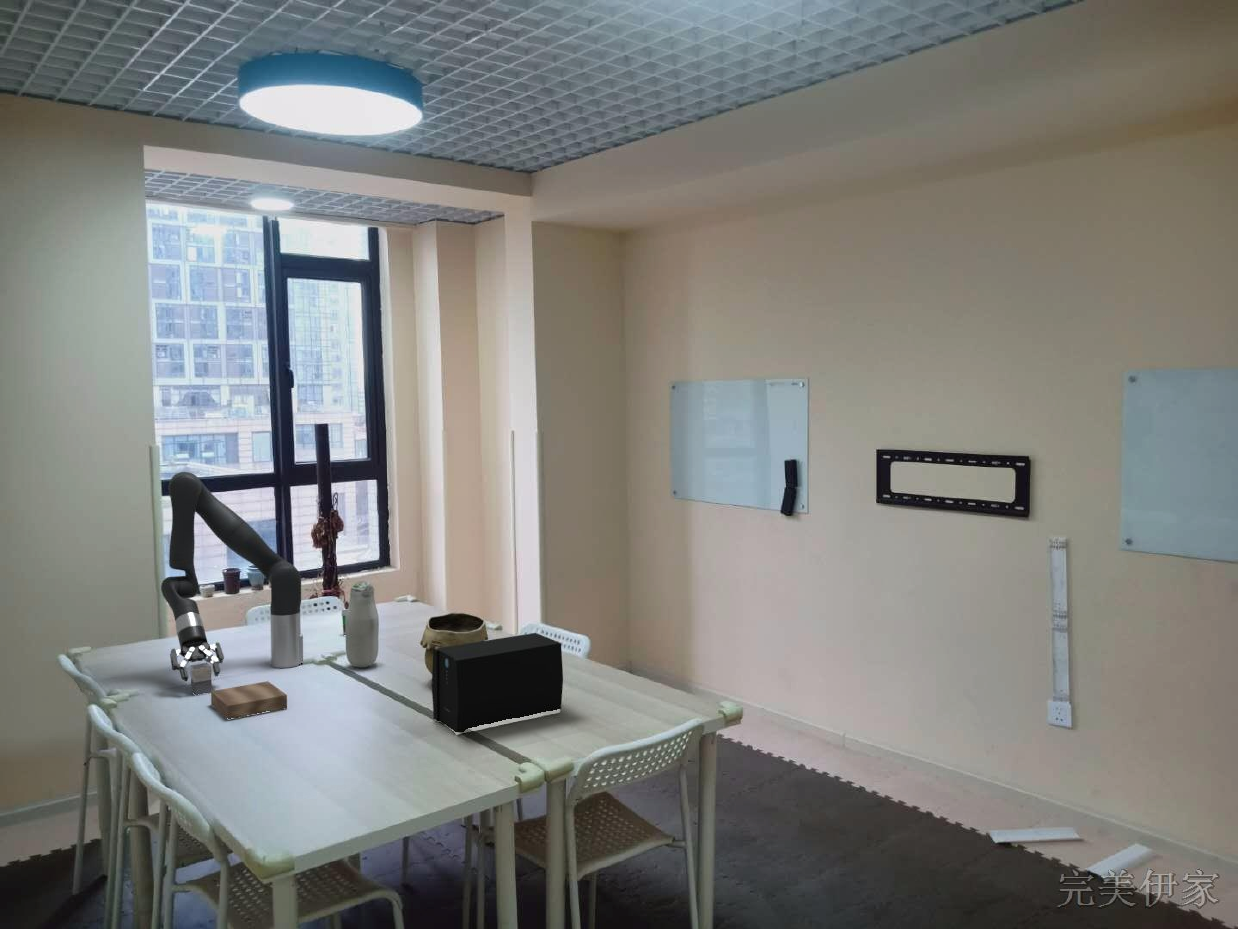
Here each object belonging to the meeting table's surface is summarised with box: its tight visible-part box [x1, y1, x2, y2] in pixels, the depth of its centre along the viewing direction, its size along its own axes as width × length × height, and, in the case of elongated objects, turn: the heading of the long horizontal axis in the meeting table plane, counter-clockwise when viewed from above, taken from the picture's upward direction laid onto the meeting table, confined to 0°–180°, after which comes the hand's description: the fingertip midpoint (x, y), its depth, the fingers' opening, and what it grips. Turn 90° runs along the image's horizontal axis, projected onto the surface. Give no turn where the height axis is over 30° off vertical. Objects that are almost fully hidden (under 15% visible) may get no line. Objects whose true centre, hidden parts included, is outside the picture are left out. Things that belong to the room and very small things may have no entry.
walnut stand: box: [210, 680, 288, 719], centre depth 269 cm, size 16×16×4 cm
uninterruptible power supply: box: [431, 632, 564, 732], centre depth 263 cm, size 16×34×20 cm, turn 125°
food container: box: [341, 609, 348, 636], centre depth 352 cm, size 12×6×10 cm, turn 168°
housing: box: [189, 662, 213, 696], centre depth 282 cm, size 5×5×8 cm
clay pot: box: [419, 612, 489, 675], centre depth 293 cm, size 21×21×20 cm
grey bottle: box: [345, 580, 380, 668], centre depth 309 cm, size 10×10×28 cm
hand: (201, 677), depth 281 cm, fingers open, 8 cm apart
